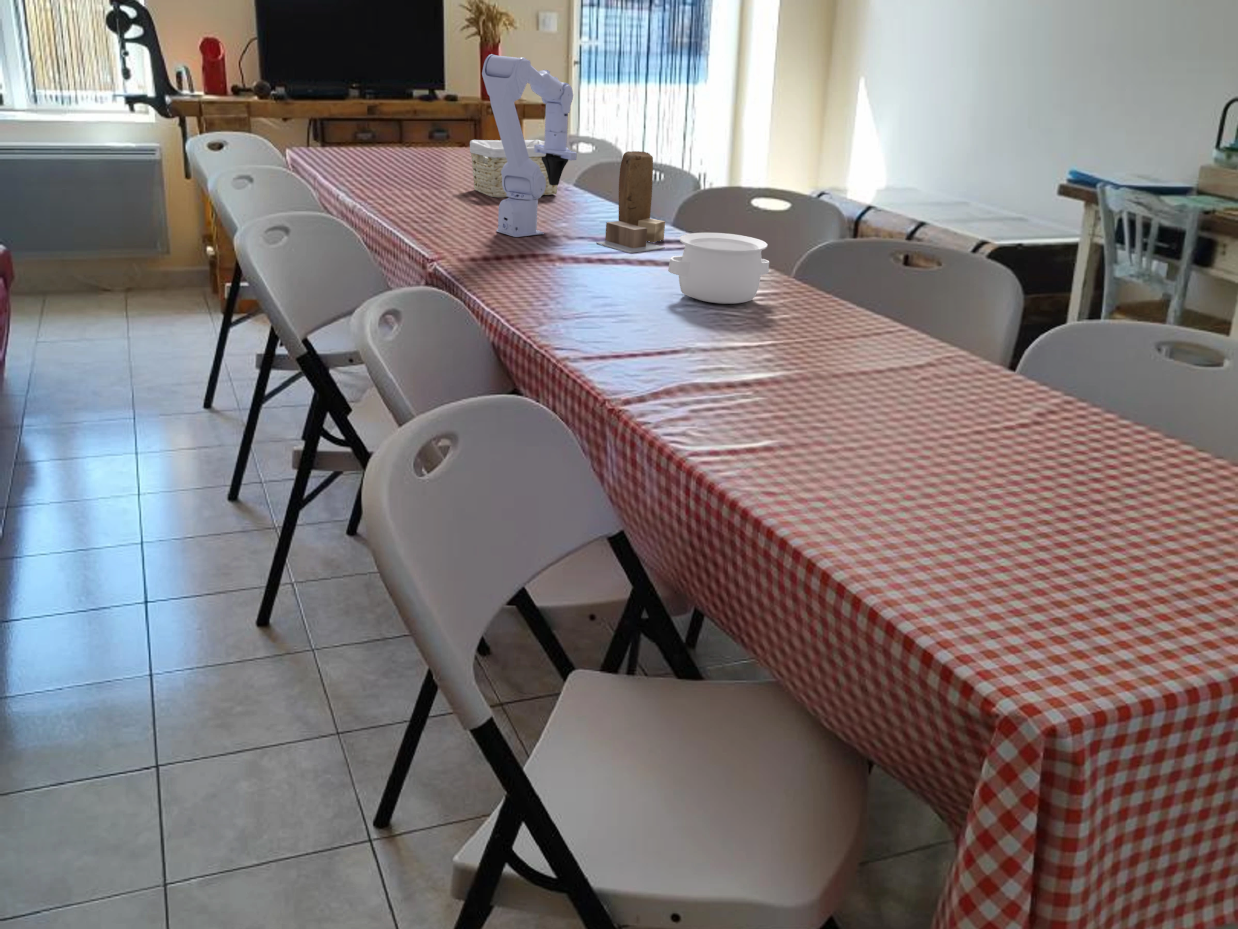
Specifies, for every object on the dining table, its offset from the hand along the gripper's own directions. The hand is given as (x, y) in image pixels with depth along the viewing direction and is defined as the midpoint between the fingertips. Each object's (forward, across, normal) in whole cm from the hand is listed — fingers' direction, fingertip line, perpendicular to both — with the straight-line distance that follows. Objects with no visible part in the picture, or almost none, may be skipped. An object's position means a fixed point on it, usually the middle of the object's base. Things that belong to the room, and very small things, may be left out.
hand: (553, 184), depth 299 cm
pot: (+10, -76, +19) cm, 79 cm away
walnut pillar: (+8, -22, -1) cm, 24 cm away
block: (+11, -14, -16) cm, 24 cm away
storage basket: (+11, +43, -21) cm, 49 cm away
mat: (+10, -29, -1) cm, 31 cm away
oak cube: (+10, -26, -11) cm, 30 cm away
